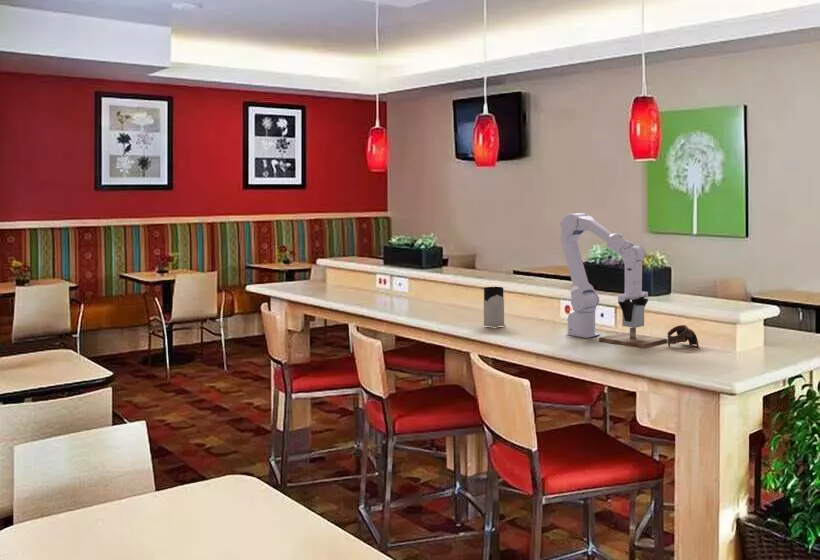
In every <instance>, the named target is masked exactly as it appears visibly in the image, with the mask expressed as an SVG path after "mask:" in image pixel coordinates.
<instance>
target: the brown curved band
mask: <svg viewBox="0 0 820 560" xmlns="http://www.w3.org/2000/svg"><path fill="white" fill-rule="evenodd" d="M675 333H676V334H675ZM673 334H675V335H673ZM666 338H667V342H666V343H667V345H668V347H671V345H676V344H678V343H679V344H680V343H686V342H688V345H689V346H694V345H695V346H696V348H698V349H699V347H700V346H699V340H698V338H697V335H696V332H695V331H694V330H692V329H691V328H689V327H688V325H685V324H679V325H676V326H674V327H672V328H671V329H669V330H668V332H667V336H666Z"/></svg>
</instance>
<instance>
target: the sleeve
mask: <svg viewBox="0 0 820 560" xmlns="http://www.w3.org/2000/svg"><path fill="white" fill-rule="evenodd" d="M621 317H622V323H621V324H622V325H621V326H622V327H626V328H627V327H628V328H636V329H637V328H641V327H644V326H645V308H644V306H642V305H634V307H633V311H632V319H631V322H628V321H625V319H624V315H623V312H622V316H621Z"/></svg>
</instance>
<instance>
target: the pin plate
mask: <svg viewBox="0 0 820 560" xmlns="http://www.w3.org/2000/svg"><path fill="white" fill-rule="evenodd" d="M598 341H599V342H602V343H610V344H615V345H616V344H617V345H622V346H629V347H636V348H641V349H644V348H645V349H646V348H648V347H653V346H657V345H661V344H665V343H667V341H668V338H667V337H666V338H665V337H657V336H652V335H651V336H650V335H645V334H637V328H633V327H629V332H624V331H623V332H618V333H614V334H610V335H605V336H600V337H598Z"/></svg>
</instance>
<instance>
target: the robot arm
mask: <svg viewBox="0 0 820 560" xmlns="http://www.w3.org/2000/svg"><path fill="white" fill-rule="evenodd" d="M559 225H560V229H561V232H560V243H561V247H562V250H563V253H564V257H565V261H566V265H567V269H568V271H569V272H568V273H569V275H570V279H571V283H572V289H571V291H570V296H571V297H570V298H571V299H570V305H571V307H572V310H570V311H569V312H568V315H567V333H566V335H567V336H572V337H579V338H587V339H588V338H592V337H597V336H601V333H597V332H596V311H597V307H598V306H599V304H600V297H599V295H598V293H597V292H596V290H595V289H594V286H593V285H592V284H591V283H589V279H588V275H587V273H586V269H585V266H584V262H583V258H582V255H581V254H582V253H581V251H580V247H579V245H578V239H579V238H580V236H581V235H582V234H583V233H584V232H586V231H589V232H590V233H592V234H593V235H595V236H596V237H598V238H600V239H602V240H603V241H605V242H606V247H607V248H608V249H610V250H611V251H613V252H614V253H616V254H617V255H619V256H620V257H621V260H622V261H623V263H624V292H623V293H622V294H619V295H618V296H617V303H618V305H619V307H620V309H621V311H622V312H623V315H624V319H625V321H628V322H631V319H632V311H633V307H634V305H642V306H644V309H645V308H646V306H647V303H648V302H649V299H648V298H649V292H648V291H643V289H642V288H643V261H644V259H645V258H646V250H645V249H644V248H643V247H642V246H641V245H640V244H634V242H633V241H630V240H628V239H626V238H625V237H624V235H623V234H622V233H617V232H615V233H612V232H611V231H609V230H608V229H606V227H604V226H603V225H602V224H600V222H597V221H596V220H595V218H594V217H593V216H591V215H589V214H588V213H586V212H578V213H566V214H565V215H564V216H563V217H562V219H561V221H560V222H559Z"/></svg>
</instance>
